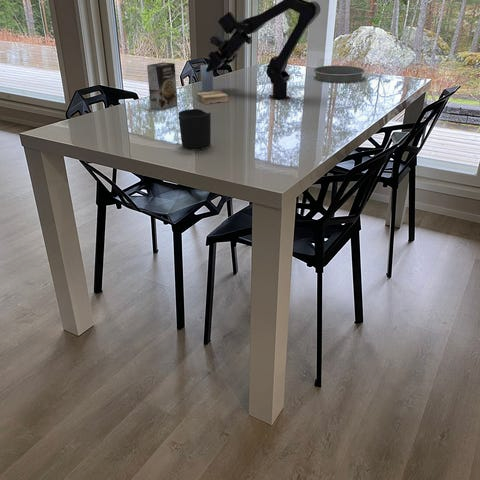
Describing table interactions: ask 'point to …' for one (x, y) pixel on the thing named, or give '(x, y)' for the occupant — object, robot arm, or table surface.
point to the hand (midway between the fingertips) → (211, 69)
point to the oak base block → (212, 97)
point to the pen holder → (195, 128)
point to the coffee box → (162, 85)
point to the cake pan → (339, 74)
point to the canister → (206, 79)
